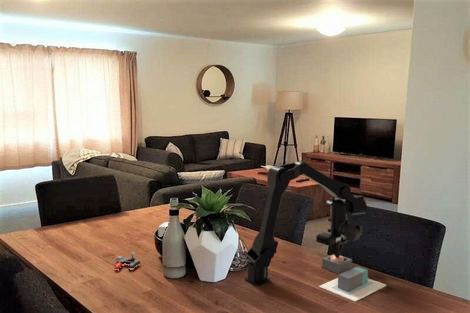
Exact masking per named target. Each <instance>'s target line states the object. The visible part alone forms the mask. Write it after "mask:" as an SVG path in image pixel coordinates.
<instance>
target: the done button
mask: <svg viewBox="0 0 470 313" xmlns="http://www.w3.org/2000/svg"><path fill="white" fill-rule="evenodd" d="M331 255H332V256H331ZM331 255H330V256H331V260H332V261H335V262H338V263H340V262H343V261H344V257H345V256H343V255H340V256H339V257H338V258H337V257H335V255H333V254H331Z"/></svg>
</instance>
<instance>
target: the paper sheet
mask: <svg viewBox="0 0 470 313" xmlns="http://www.w3.org/2000/svg"><path fill="white" fill-rule="evenodd" d="M318 287H319V288H321V289H323V290H326V291H328V292H330V293H333V294H335V295H337V296H340V297H343V298H345V299H347V300H350V301H352V302H354V303H356V302H358V301H359V300H362V299H363V298H365V297H367V296H369V295H371V294H373V293H375V292H377V291H380V290H381V289H383V288H386V287H387V284H385V283H382V282H380V281H376V280H374V279H371V278H368V281H367V283H366V284H364V285H362V286H359V287H357V288H355V289H353V290H351V291H349V292H347V291H344V290H342V289H339V288H338V277H337V278H334V279H332V280H330V281H327V282H326V283H323V284H321V285H318Z"/></svg>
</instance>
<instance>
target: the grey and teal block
mask: <svg viewBox="0 0 470 313" xmlns="http://www.w3.org/2000/svg"><path fill="white" fill-rule="evenodd" d="M368 273H369V270H368V269H366V268H363V267H360V266H355V267H353V269H350V270H348V271H346V272H343V273H341V274H337V278H338V288H339V289H342V290H344V291H347V292H349V291H351V290H353V289H355V288H357V287H359V286H362V285H364V284H366V283H367V281H368V279H369V274H368Z"/></svg>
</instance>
